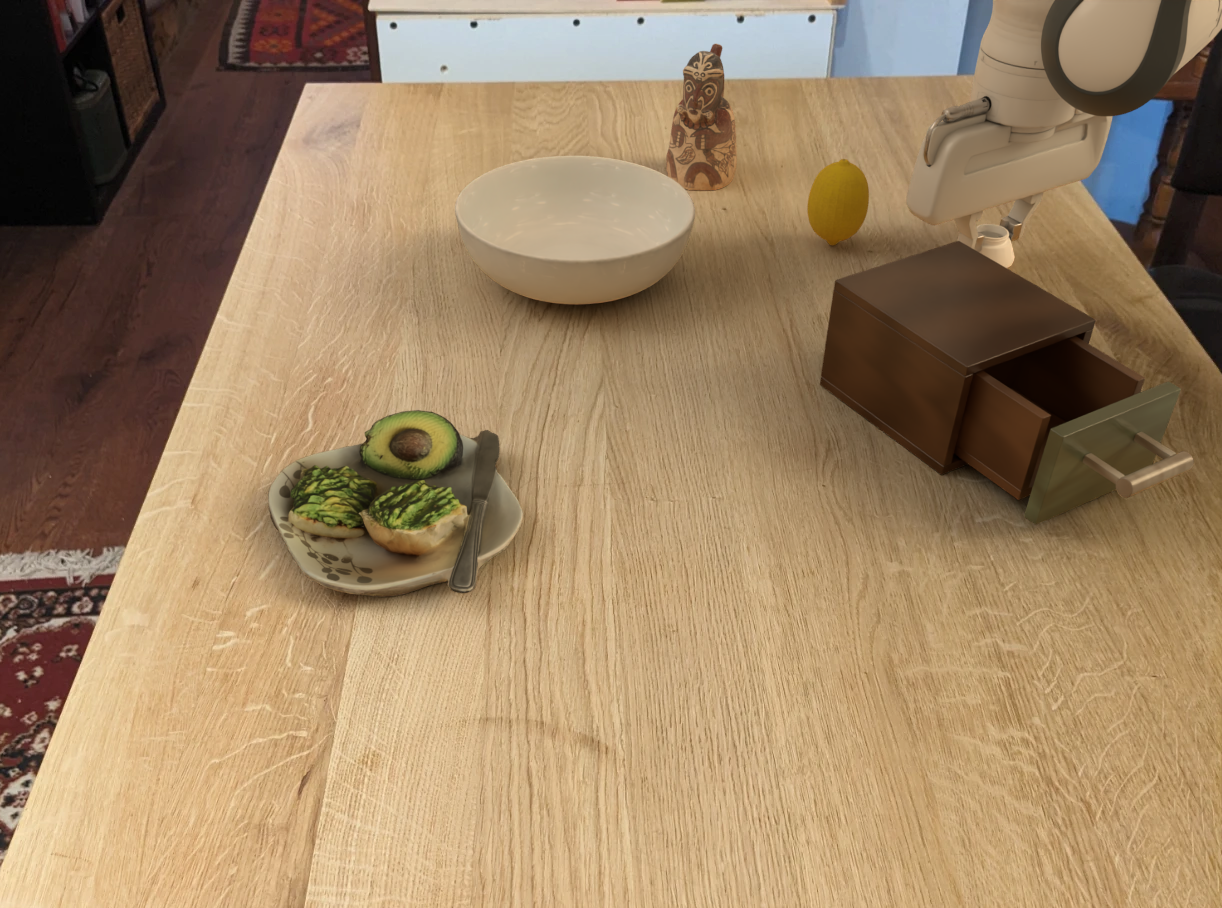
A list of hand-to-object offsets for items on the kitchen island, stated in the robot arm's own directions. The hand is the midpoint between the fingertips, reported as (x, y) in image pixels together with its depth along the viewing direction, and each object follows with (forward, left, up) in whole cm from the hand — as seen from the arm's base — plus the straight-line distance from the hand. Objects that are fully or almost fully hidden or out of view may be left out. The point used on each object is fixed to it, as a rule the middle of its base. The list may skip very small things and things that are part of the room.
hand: (988, 245), depth 117 cm
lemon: (+10, -10, -2) cm, 14 cm away
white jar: (0, 0, -2) cm, 2 cm away
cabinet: (+20, +16, -2) cm, 26 cm away
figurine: (+12, -29, -2) cm, 31 cm away
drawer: (+20, +28, -1) cm, 34 cm away
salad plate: (+63, +7, -2) cm, 63 cm away
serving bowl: (+34, -17, -2) cm, 38 cm away
